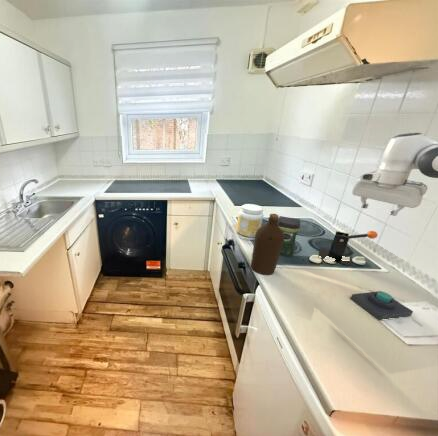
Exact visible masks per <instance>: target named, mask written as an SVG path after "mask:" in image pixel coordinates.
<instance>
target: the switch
mask: <svg viewBox="0 0 438 436" xmlns="http://www.w3.org/2000/svg"><path fill="white" fill-rule="evenodd" d="M342 236H345V234H342ZM347 237H349V240H350V239H359V238H360V239H361V238H368V239H373V240H374V239H376V238H378V232H376V231H374V230H369V231H367V233H362V234H353V235H352V234H351V235H349V236H347Z"/></svg>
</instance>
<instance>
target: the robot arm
mask: <svg viewBox="0 0 438 436" xmlns="http://www.w3.org/2000/svg"><path fill="white" fill-rule="evenodd" d="M381 159H382V162H381V164H380V165H379V167H378V169H377V171H371V172H369V171H368V172H364V173H361V174H360V175H359V179H357V180H356V182H355V184H354V185H353V187H352V191H351V193H352V195H353V196H355V197H360V202H361V206H360V208H362V209H365V210H366V209H368V207H369V203H367V201H366V200H368V199H369V200H375V201H378V202H383V203H388V204H392V205H396V208H397V209H392V210H391V211H390V213H389V215H390V216H392V217H396V216H397V215H398V213H399V212H400V211H402V210H403V209H405V207H406V208H409V209H410V208H411V209H415V208H417V207H419V206H420V205H421V203H422V201H423V197H424V195H425V194H426V193H427V191H428V186H427V185H426V184H425V183H424V182H421V181H414V180H409V177H410V174H411V172H412V170H419V172H420V173H421V174H422V175H424V176H426V177H428V178H432V179H438V141H437V140H434V139H432V138H430V137H428V136H426V135H424V133H422V132H408V133H401V134H397V135H394V136H393V137H391V138H390V140H389V141H388V143H387V145H386V148H385V149H384V152H383V154H382V157H381Z"/></svg>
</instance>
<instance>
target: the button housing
mask: <svg viewBox="0 0 438 436" xmlns="http://www.w3.org/2000/svg"><path fill="white" fill-rule="evenodd" d="M380 291H381V290H379V291H369V292H359V293H353V294H351V296H350V298H349V299H350V301H352V303H354V304H356V305H357V306H359V307H360V308H362V309H363V310H364V311H365V312H367V313H368V314H369V315H370V316H371V317H373V318H375V319H376V320H377V321H383V320H382V319H388V320H390V319H389V318H395V319H400V318H399V317H403V318H409V316H410V317H411V316H412V314H413V313H414V311H413V310H412V309H410V308H408V307H407V306H405V305H404V304H402V303H401V302H399V301H398V300H396V299H395V298H393V297H392V300H391V302H390V303H387V302H383V301H381V300H379V299H377V298H376V295H377V293H378V292H380ZM381 292H383V291H381Z"/></svg>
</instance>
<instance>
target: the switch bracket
mask: <svg viewBox="0 0 438 436" xmlns="http://www.w3.org/2000/svg"><path fill="white" fill-rule="evenodd" d="M342 234H345V236H342ZM347 236H350V233H348V232H343V231H338V230H336V231H335V234H334V237H333V240H332V243H331V246H330V248H329V250H325V249H321V248H319V249H318V257H319V256H321V257H322V258H321V259H322V260H325V259H324V258H325V257H326V256H329V257H332V258H335V259H336V260H335V261H333V262H334V263H338V264H341V265H346V266H350V267H353V263H352V256H349V255H345V251H346V249H347V246H348V243H349V241H350V239H349V237H347ZM342 256H345V257H350V258H351V259H350V261H342V260H341V259H342Z"/></svg>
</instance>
